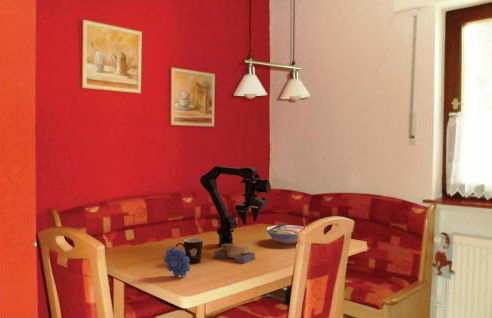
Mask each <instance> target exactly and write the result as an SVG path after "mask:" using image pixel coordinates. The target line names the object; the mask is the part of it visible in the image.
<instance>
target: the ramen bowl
mask: <svg viewBox="0 0 492 318" xmlns="http://www.w3.org/2000/svg"><path fill="white" fill-rule="evenodd" d="M304 227H305V226H301V225H294V224H293V225H290V224H289V222H283V223H280V224H278V225H272V226H268V227H267V228H266V230H265V232H267V233H268V235H269V236H270V238H271V239H272V240H274V241H276V242H279V243H280V244H282V245H293V244H295V243H298V242H297V234H298V232H299V231H300V230H302V229H303V228H304Z"/></svg>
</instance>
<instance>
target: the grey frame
mask: <svg viewBox="0 0 492 318" xmlns="http://www.w3.org/2000/svg"><path fill="white" fill-rule="evenodd" d="M213 257H214V258H215V259H220V260H226V259H227V258H230V257H229V256H225V252H221V248H220V249H218V250H215V251H214V255H213ZM255 260H256V253H255V252H251V251H249V254H248V255H245V256H243V255H238V254H237V255H236V258H235V259H234V262H235V263H238V264H239V263H240V264H247V263H249V262H252V261H255Z"/></svg>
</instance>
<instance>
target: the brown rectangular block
mask: <svg viewBox="0 0 492 318" xmlns="http://www.w3.org/2000/svg"><path fill="white" fill-rule="evenodd" d="M220 249H221V252H225V256H229V257H228V258H235V259H236V255H237V254H238V255H243V256H245V255H248V254H249V252H250V251H249V249H250V247H249V246H246V245H240V244H234V243H233V244H228V243H224V244H221V246H220Z"/></svg>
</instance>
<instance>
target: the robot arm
mask: <svg viewBox="0 0 492 318" xmlns="http://www.w3.org/2000/svg"><path fill="white" fill-rule="evenodd" d="M220 175H228V176H231V175H232V176H237V177H240V178H243V179H242V180H241V181H240V184H244V193H243V194H242V197H243V199H244V201H242V203H238V204H235V206H234V211H236V212H237V213H238V216H239V217H240V219H241V221H242V223H243V225H246V224H247V219H248V218H247V217H248V213H249V212H250V211H249V210H251V215H252V218H253V222H254V223H256V222H257V220H258V217H259V214H260V211H261V210H263V209H264V208H265V207H266V205H267V204H268V200H267V197H265V196H263V197H259V194H269V193H270V192H271V189H272V185H271V183H270V180H269V179H266V178H265V179H262V177H261V176H260V174H259V173H258V170H257V168H256V167H254V166H249V167H247V166H246V167H232V166H223V165H215V166H213V168H212V169H210V170H209V171H208V172H206V173H204V174H203V175H201V177H200V179H199V182H200V184H201V186H202V187H203V189H204V190H206V192H207V193H208V194H209V197H210V198H211V201H212V203H213V205H214V207H215V209H216V211H217V214H218V216H219V225H220V227H219V228H218V229H217V230H216V233H217V235H218V243H217V244H216V245H217V246H218V247H221V244H224V243H228V244H234V243H233V240H234V237H233V233H234V231H235V229H237V221H238V220H237V219H236V217H235V215H234V214H230V213H229V212H228V210H227V207H226V205H225V203H224V201H223V198H222V196H221V194H220V192H219V190H218V182H217V180H218V178H219V177H220ZM257 193H259V194H257Z"/></svg>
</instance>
